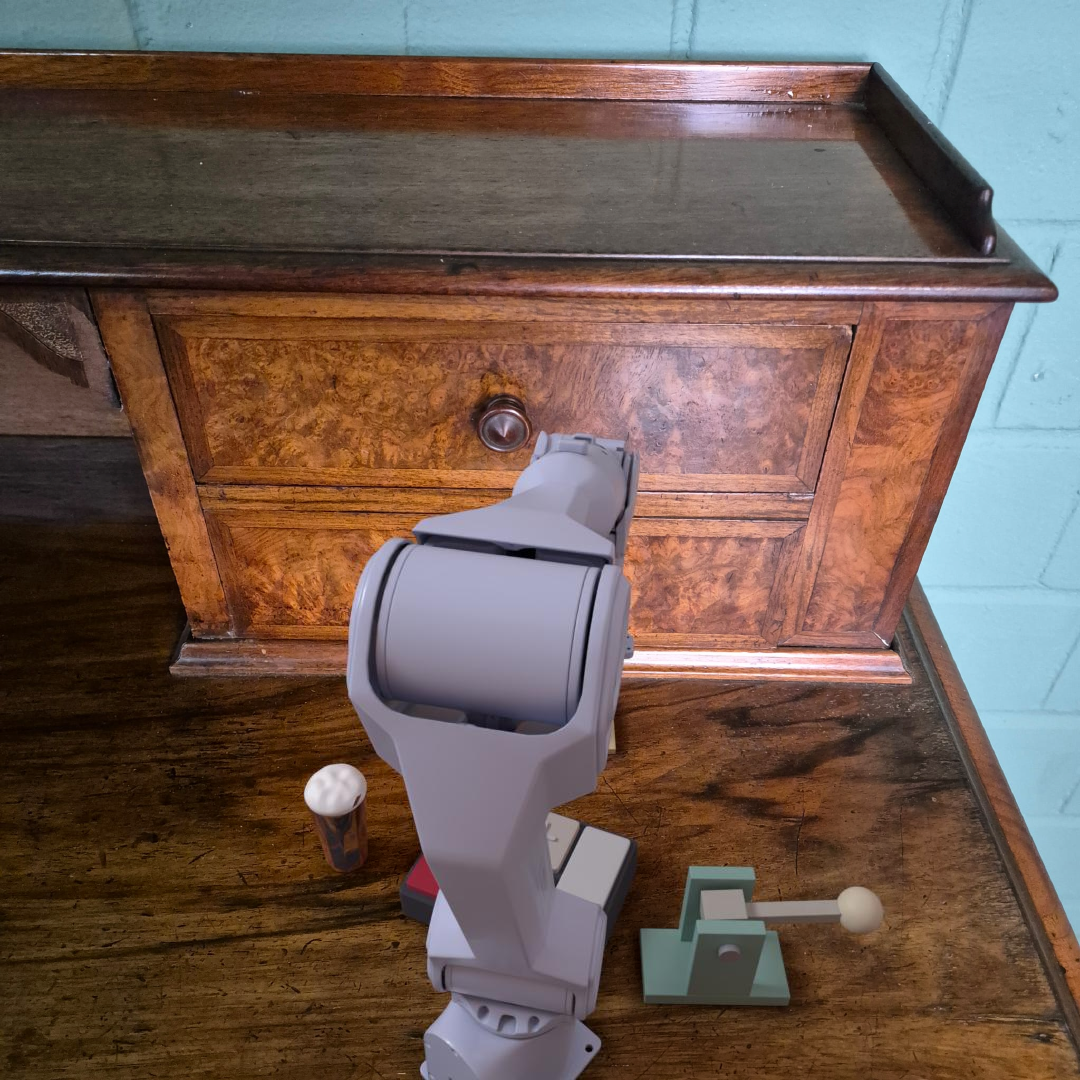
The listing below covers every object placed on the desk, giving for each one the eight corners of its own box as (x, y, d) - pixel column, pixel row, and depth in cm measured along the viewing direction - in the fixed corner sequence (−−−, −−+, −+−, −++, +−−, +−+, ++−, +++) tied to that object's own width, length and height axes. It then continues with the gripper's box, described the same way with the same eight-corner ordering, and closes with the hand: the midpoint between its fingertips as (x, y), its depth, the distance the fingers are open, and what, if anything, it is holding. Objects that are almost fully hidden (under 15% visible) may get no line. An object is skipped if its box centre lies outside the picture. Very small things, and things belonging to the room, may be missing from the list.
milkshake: (349, 897, 72) (333, 814, 66) (306, 856, 75) (288, 773, 69) (395, 860, 75) (383, 776, 69) (352, 821, 78) (338, 738, 72)
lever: (872, 902, 65) (878, 876, 64) (885, 943, 63) (891, 917, 61) (699, 907, 66) (700, 882, 64) (704, 948, 63) (706, 923, 62)
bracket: (773, 933, 70) (793, 861, 65) (789, 1013, 65) (812, 942, 60) (638, 930, 70) (647, 858, 65) (644, 1011, 65) (655, 939, 60)
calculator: (464, 776, 77) (639, 833, 72) (468, 810, 80) (638, 868, 74) (394, 884, 69) (586, 958, 64) (401, 919, 71) (587, 993, 66)
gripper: (646, 669, 59) (631, 808, 67) (631, 533, 71) (620, 665, 79) (533, 667, 59) (532, 806, 67) (536, 531, 71) (535, 664, 79)
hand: (573, 730), depth 73 cm, fingers closed
